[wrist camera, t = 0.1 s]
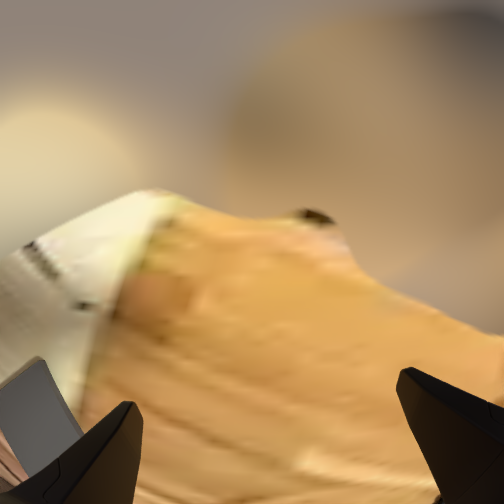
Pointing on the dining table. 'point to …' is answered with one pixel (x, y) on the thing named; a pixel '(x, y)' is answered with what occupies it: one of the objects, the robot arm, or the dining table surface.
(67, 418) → the mat
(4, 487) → the socket block
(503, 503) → the robot arm
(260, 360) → the dining table surface
